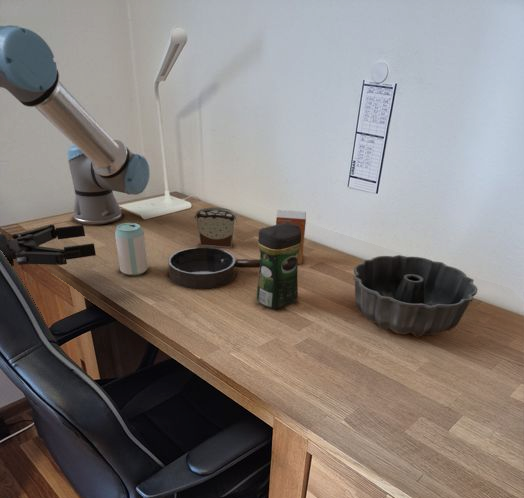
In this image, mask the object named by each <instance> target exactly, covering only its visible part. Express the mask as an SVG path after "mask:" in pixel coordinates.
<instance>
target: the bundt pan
mask: <svg viewBox="0 0 524 498" xmlns="http://www.w3.org/2000/svg"><path fill="white" fill-rule="evenodd" d="M353 273H354V275H353V276H352V279H353V280H354V292H355V293H354V297H355V298H354V300H355V301H354V302H355V305H356V307H357V309H358V311H360V312H361V313H362V314H363V316H364V318H366V319H367V320H368V321H369V322H371V323H374V324H377V325H378V327H379V328H380V329H381V330H387V329H390V330H392V332H393V333H395V334H400V335H407V334H410V333H411V334H412V335H413V336H414V337H417V338H419V337H421V336H423V335H429V336H432V335H433V336H434V335H435V336H436V335H438V334H441V333H443V332H445V331H450V330H453V329H454V328H455V327H456V326H458V324H459V323H460V322H461V319H462V317H463V316H464V314H465V312H466V310H467V309H468V307H469V305H470V303H472V302H473V300H474V298H473V297H475V296H476V295H477V293H478V287H477V285H475V284H474V281H475V280H474V279H473V278H471V277H469V276H467V274H466V273H465V271H462V270H461V269H459V268H456V267H453V266H450V265H448V264H446V263H444V262H443V261H436V260H435V261H434V260H431V259H428V258H425V257H419V256H405V255H402V254H397V255H378V256H375V257H372V258H370V259H363V260H362V261H361V263H359V264H357V265H355V266H354V267H353Z"/></svg>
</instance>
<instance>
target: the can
mask: <svg viewBox="0 0 524 498" xmlns="http://www.w3.org/2000/svg"><path fill="white" fill-rule="evenodd" d="M114 237H115V245H116V251H117V257H118V258H117V259H118V264H119V270H120V272H121V273H123V274H124V275H127V276H139V275H142V274H144V273H145V272H146V271H148V268H149V266H148V259H147V258H148V257H147V249H146V239H145V233H144V230H143V229H142V228H141V225H140V224H138V223H135V222H125V223H120V224H118V225H117V226H116V230H115V232H114Z"/></svg>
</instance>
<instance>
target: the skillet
mask: <svg viewBox="0 0 524 498" xmlns="http://www.w3.org/2000/svg"><path fill="white" fill-rule="evenodd" d="M235 260H236V258H235V256H234V255H233V254H232V253H230V252H228V251H227V250H225V249H224V250H223V249H220V248H217V247H210V246H201V247H199V246H198V247H189V248H184V249H181V250H179V251H176V252H174V253H173V254H171V255H170V256H169V257H168V260H167V265H168V275H169V278H170V280H171V281H172V283H175V284H176V285H178V286H180V287H184V288H189V289H197V290H208V289H215V288H220V287H222V286H226V285H228V284H229V283H231V282H232V281H233V280H234V279H235V277H236V267H235Z"/></svg>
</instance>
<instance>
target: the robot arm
mask: <svg viewBox="0 0 524 498" xmlns="http://www.w3.org/2000/svg"><path fill="white" fill-rule="evenodd" d="M54 58H55V55H54V53H53V51H52V49H51V47H50V45H49V44H48V43H47V42H46V41H45V39H44V38H43V37H42V36H41V35H40V34H38V33H36V32H35V31H33V30H31V29H29V28H25V27H22V26H18V25H10V24H8V25H0V88H3V89H5V90H6V91H7V92H9V93H10V95H12V96H13V97H14V98H15V99H16V100H17V101H18V102H20V103H21V104H22V105H23V106H24V107H28V108H35V109H36V110H37V111H39V113H41V115H42V116H44V117H45V118H46V119H47V120H48V122H50V123H51V124H52V125H53V126H54V127H55V128H56V129H57V130H58V131H59V132H60V133H62V135H64V137H66V138H67V140H68V141H69V142H71V143H72V144H73V145H70V146H69V147H68V149H67V158H68V159H67V161H68V165H69V170H70V175H71V180H72V184H73V189H74V193H75V194H74V195H75V197H74V205H73V211H72V214H73V220H74V221H75V222H77V223H79V225H69V226H60V227H56V226H55V224H53V223H52V224H49V225H45V226H41V227H37V228H34V229H30V230H27V231H24V232H19V233H12V234H11V238H12V239H8V235H7V234H6V233H4V232H2V233H0V250H1V251H2V252H3V254H4V255H5V257H6V258H7V260H8V261H9V263H10V264H11V266H12V267H14V266H15V261H14V260H16V262H17V265H19V266H23V265H46V266H47V265H48V266H51V265H52V266H63V265H67V264H68V260H75V259H80V258H81V259H82V258H88V257H95V256H97V253H96V248H95V243H94V242H93V243H85V244H78V245H71V246H70V245H69V246H64V247H63V248H56V247H49V246H42V245H44V244H46V243H48V242H51V241H53V240H55V239H57V240H66V239H72V238H81V237H86V232H85V227H84V225H86V226H87V225H88V226H101V225H107V224H112V223H116V222H118V221H119V220H121V219H122V217H123V215H122V210H121V207H120V205H119V203H118V201H117V199H116V197H115V195H114V192H117V193H122V194H127V195H129V196H131V195H134V196H137V195H140V194H142V193H144V191H145V190H146V189H147V187H148V184H149V181H150V174H151V173H150V172H151V170H150V164H149V162H148V160H147V158H146V157H145V156H144V155H142V154H140V153H133V152H132V151H131V150H130V149H129V148H128V146H126V144H124V143H123V142H122V141H121V140H118V139H113V138H112V137H111V136H110V134H108V133H107V131H106V130H105V129H104V128H103V127H102V126H101V125H100V123H99V122H97V121H96V119H95V118H94V117H93V116H92V115H91V114H90V113H89V112H88V110H86V108H85V107H84V106H83V105H82V104H81V102H79V101H78V100H77V98H76V97H75V96H74V95H73V94H72V93H71V91H69V90H68V89H67V87H65V85H64V84H63V83H62V82H61V80H60V72H59V70H58V68H57V62H56V61H55V60H54Z"/></svg>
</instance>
